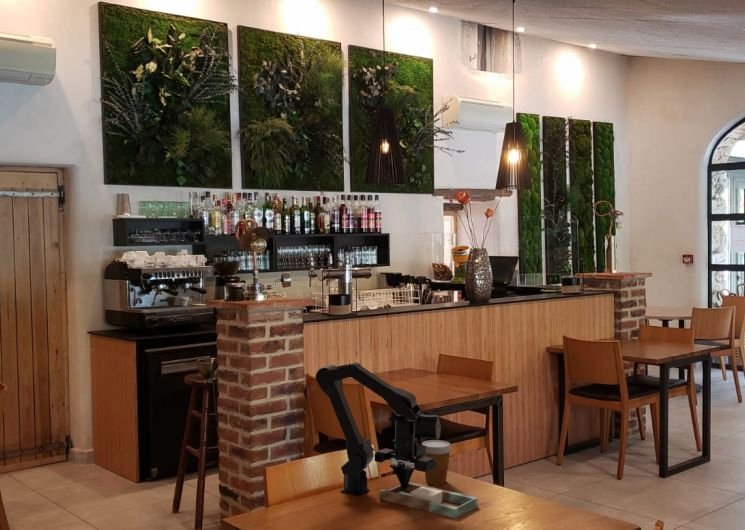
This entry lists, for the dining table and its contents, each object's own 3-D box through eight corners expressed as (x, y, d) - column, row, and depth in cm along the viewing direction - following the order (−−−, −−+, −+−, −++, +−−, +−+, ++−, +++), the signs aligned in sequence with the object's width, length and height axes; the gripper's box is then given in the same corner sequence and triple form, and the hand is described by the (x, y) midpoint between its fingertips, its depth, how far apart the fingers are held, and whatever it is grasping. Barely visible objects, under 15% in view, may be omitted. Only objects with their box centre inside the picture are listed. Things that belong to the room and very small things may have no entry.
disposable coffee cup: (449, 487, 250) (449, 448, 249) (418, 485, 252) (418, 446, 251) (452, 477, 259) (452, 440, 259) (422, 476, 261) (423, 439, 261)
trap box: (379, 499, 239) (379, 490, 239) (403, 488, 249) (403, 480, 248) (455, 518, 223) (455, 509, 223) (477, 506, 233) (477, 497, 233)
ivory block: (410, 503, 236) (410, 491, 236) (421, 498, 241) (421, 486, 240) (431, 508, 232) (431, 496, 232) (442, 503, 237) (442, 491, 236)
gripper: (446, 435, 241) (446, 487, 241) (395, 426, 252) (395, 476, 253) (425, 443, 232) (425, 497, 233) (373, 433, 243) (373, 485, 244)
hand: (404, 488), depth 241 cm, fingers closed
